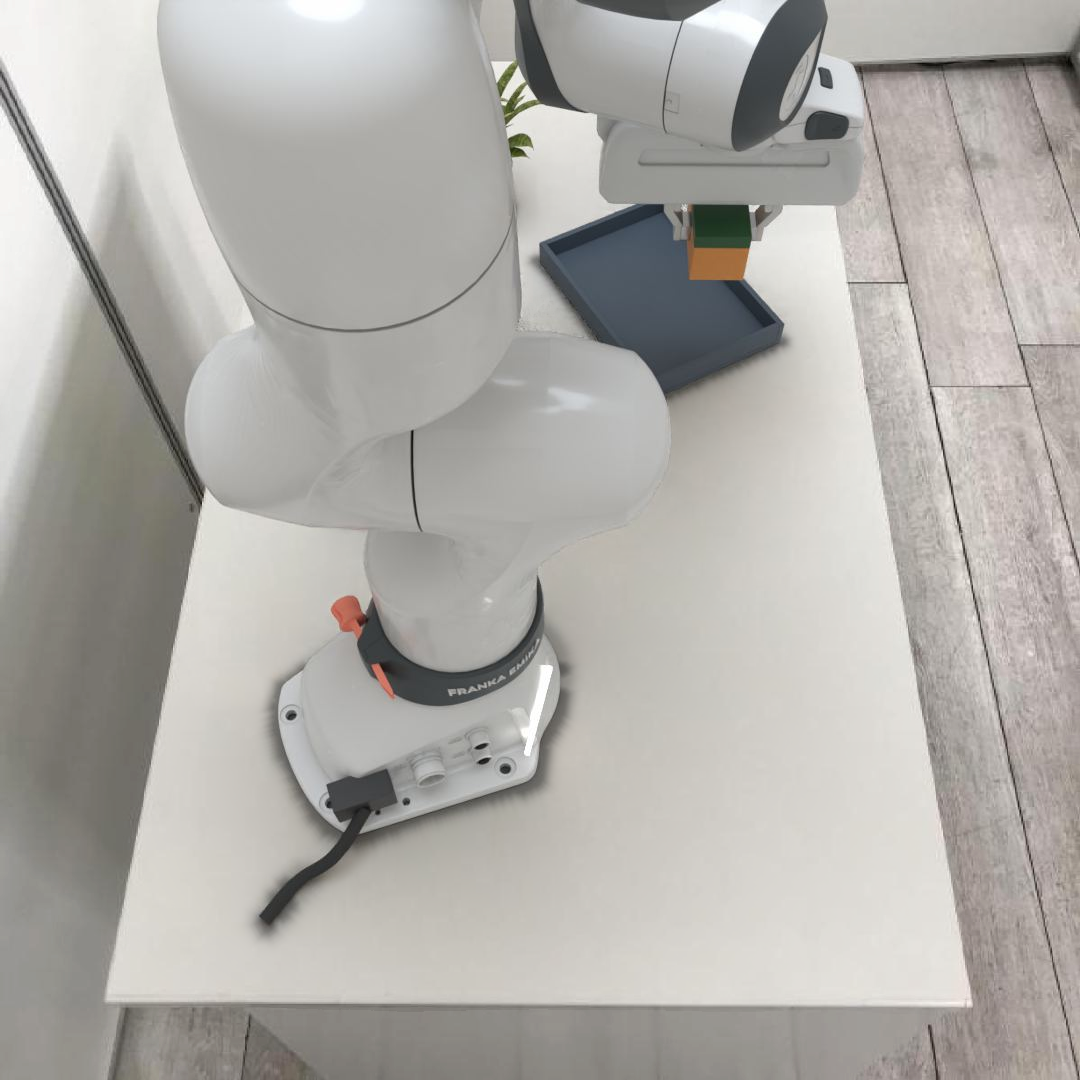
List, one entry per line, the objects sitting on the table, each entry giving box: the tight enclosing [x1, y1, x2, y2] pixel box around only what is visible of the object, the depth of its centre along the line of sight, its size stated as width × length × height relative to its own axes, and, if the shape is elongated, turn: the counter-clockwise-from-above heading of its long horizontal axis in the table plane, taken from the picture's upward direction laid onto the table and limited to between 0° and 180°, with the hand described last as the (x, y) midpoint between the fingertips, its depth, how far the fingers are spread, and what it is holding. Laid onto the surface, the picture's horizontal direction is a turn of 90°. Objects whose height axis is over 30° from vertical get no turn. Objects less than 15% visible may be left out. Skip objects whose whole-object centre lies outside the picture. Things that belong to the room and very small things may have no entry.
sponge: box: [686, 204, 752, 280], centre depth 89 cm, size 7×4×5 cm, turn 179°
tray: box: [538, 204, 785, 395], centre depth 106 cm, size 15×21×3 cm
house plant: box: [496, 59, 543, 164], centre depth 107 cm, size 14×14×16 cm
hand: (716, 235), depth 89 cm, fingers closed on sponge, 4 cm apart
